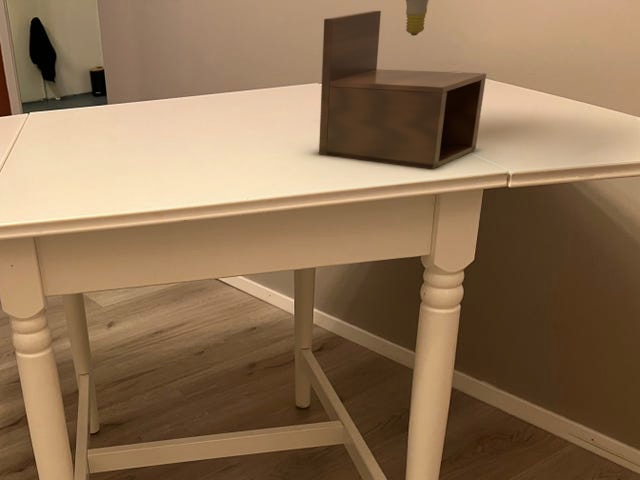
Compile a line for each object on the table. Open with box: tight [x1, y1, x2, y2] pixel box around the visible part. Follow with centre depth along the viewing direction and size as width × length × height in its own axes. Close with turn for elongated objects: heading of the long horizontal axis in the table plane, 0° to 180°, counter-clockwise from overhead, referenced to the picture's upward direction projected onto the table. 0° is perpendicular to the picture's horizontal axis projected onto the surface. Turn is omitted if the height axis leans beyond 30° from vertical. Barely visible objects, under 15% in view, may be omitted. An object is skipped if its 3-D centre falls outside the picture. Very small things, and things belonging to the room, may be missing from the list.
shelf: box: [318, 10, 487, 170], centre depth 87 cm, size 16×11×16 cm
